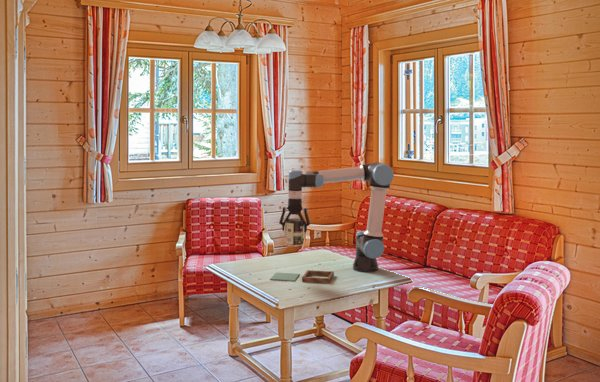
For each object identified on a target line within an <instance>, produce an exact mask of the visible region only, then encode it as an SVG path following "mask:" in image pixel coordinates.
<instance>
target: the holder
mask: <svg viewBox="0 0 600 382" xmlns="http://www.w3.org/2000/svg"><path fill="white" fill-rule="evenodd" d="M334 274H335V272H334V271H331V270H330V271H329V270H309V269H307V270H306V271H305V273H304V274H303V276H302V277H301V282H302V283H317V284H330V283H331V282H332V280H333V278H334V277H335V275H334ZM313 276H315V277H313ZM316 276H318V277H316ZM319 276H321V277H319Z"/></svg>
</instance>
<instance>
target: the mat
mask: <svg viewBox="0 0 600 382" xmlns="http://www.w3.org/2000/svg"><path fill="white" fill-rule="evenodd" d="M300 275H301V274H300V273H295V272H294V273H293V272H290V273H289V272H275V273H274V274H273V275H272V276H271V277H270V278H269V281H278V282H279V281H283V282H295V281H296V280H297V279H298V277H299V276H300Z"/></svg>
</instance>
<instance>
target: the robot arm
mask: <svg viewBox="0 0 600 382" xmlns="http://www.w3.org/2000/svg"><path fill="white" fill-rule="evenodd" d="M360 180H361V181H362V182H369V186H368V187H370V189H371V192H370V199H369V205H368V206H369V207H368V213H367V215H368V216H367V222H366V230H358V231H356V233H355V257H354V260H353V261H354V262H353V263H352V270H354V271H355V272H356V271H357V272H362V273H363V272H366V273H367V272H368V273H369V272H370V273H371V272H376V271H378V270H379V263H378V261H377V259H378V258H379V257H382V255H383V253H384V251H385V245H384V236H385V235H384V234H383V232H382V231H383V230H382V229H383V222H384V214H385V206H386V200H387V199H386V197H387V192H388V191H389V189H390V188H391V183H392V182H393V181H394V171H393V169H392V167H391V166H390V165H388V164H386V163H381V162H378V161H377V162H371V163H365V164H360V166H355V167H354V166H353V167H345V168H334V169H325V170H323V169H322V170H316V171H315V170H314V171H311V170H307V171H305V172H304V173H303V171H302V170H299V169H295V170H294V169H291V170H289V171H288V190H287V191H288V193H287V194H288V201H287V206H283V207H282V212H281V216H280V219H279V222H278V224H279V225H282V226H281V227H282V228H281V229H282V231H283V236H284V238H286V220H288V219H290V217H291V215H294V216H296V215H297V216H298V218H299V219H301V221H303V225H304V226H303V239H305V238H306V233H307V231H308V226H310V225H311V221H310V218H309V214H308V213H309V212H308V208H307V207H303V206H302V205H303V199H302V197H303V188H323V186H324V184H330V183H338V182H339V183H340V182H348V181H349V182H351V181H360ZM287 210H288V213H287V215H286V211H287ZM302 211H303V214H304V216H303V214H302ZM285 215H286V217H285ZM284 218H285V219H284Z"/></svg>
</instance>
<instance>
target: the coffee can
mask: <svg viewBox="0 0 600 382" xmlns="http://www.w3.org/2000/svg"><path fill="white" fill-rule="evenodd" d="M285 225H286V237H285V246H288V247H302V246H304V238H303V226H304V225H303V221H301V219H300V218H289V219H288V220H286V224H285Z"/></svg>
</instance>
